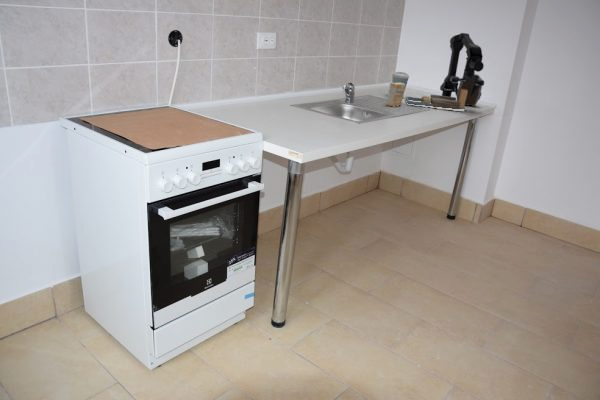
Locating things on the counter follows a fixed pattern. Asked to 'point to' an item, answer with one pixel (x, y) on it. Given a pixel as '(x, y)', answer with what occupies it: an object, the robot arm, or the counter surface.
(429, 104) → the slate tray
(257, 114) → the counter surface
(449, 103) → the railed tan board
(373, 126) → the counter surface
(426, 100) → the brass block
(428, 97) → the brass block
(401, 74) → the disposable coffee cup
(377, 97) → the counter surface
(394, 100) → the supplement box
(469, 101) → the dark brown rounded block
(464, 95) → the brown and grey block
